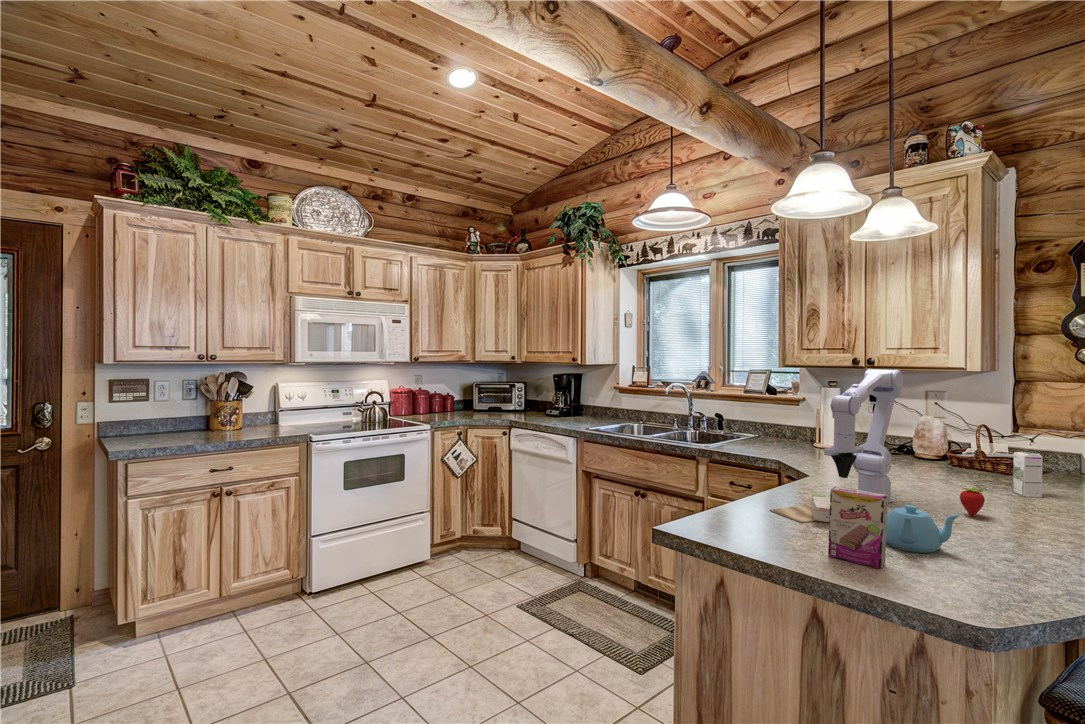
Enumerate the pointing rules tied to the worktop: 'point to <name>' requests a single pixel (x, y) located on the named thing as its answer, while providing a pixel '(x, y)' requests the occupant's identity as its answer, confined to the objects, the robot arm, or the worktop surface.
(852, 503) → the candy bar box
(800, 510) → the cork trivet
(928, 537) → the teapot
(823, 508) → the ink box
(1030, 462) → the syrup box
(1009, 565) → the worktop surface
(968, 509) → the strawberry
